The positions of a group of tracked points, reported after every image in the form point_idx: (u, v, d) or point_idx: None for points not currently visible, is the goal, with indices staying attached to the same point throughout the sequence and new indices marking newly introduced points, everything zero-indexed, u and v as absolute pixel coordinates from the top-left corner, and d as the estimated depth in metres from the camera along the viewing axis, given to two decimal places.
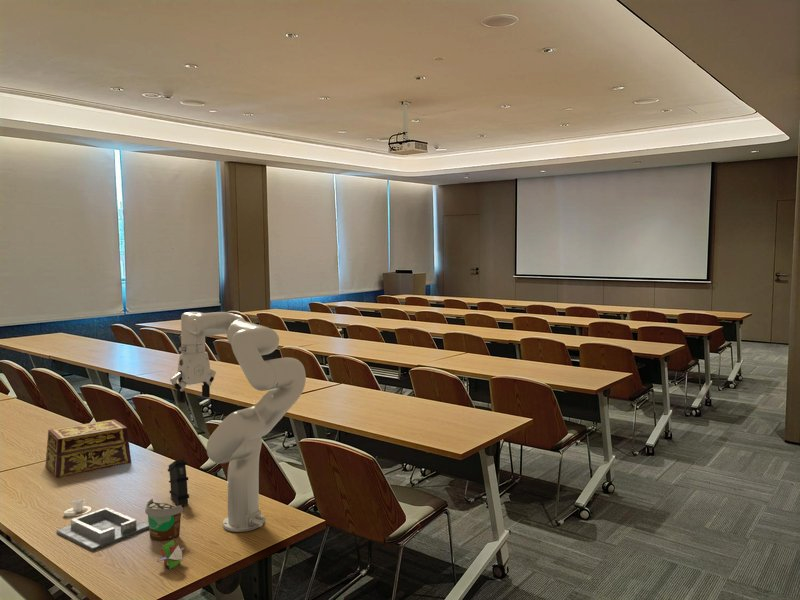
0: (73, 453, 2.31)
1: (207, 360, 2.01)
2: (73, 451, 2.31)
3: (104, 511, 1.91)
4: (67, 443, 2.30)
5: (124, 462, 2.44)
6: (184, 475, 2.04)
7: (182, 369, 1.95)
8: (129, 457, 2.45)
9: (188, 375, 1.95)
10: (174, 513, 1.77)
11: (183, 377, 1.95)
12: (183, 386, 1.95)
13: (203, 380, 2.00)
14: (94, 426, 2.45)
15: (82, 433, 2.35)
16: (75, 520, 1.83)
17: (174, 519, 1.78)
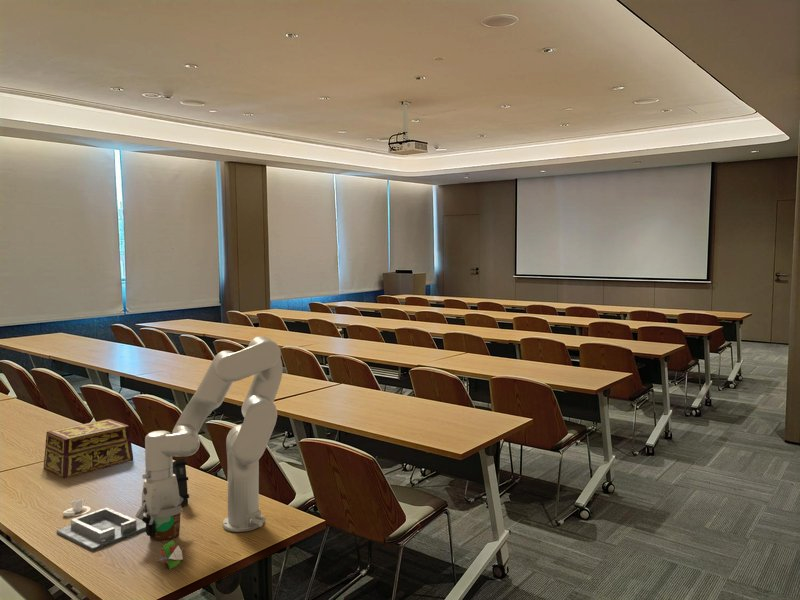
0: (79, 453, 2.31)
1: (175, 484, 1.80)
2: (79, 451, 2.31)
3: (104, 511, 1.91)
4: (74, 444, 2.30)
5: (127, 460, 2.46)
6: (184, 475, 2.04)
7: (146, 499, 1.74)
8: (131, 455, 2.48)
9: (153, 505, 1.74)
10: (174, 513, 1.77)
11: (147, 508, 1.74)
12: (151, 519, 1.75)
13: (171, 507, 1.79)
14: (94, 426, 2.45)
15: (86, 433, 2.36)
16: (75, 520, 1.83)
17: (173, 519, 1.78)
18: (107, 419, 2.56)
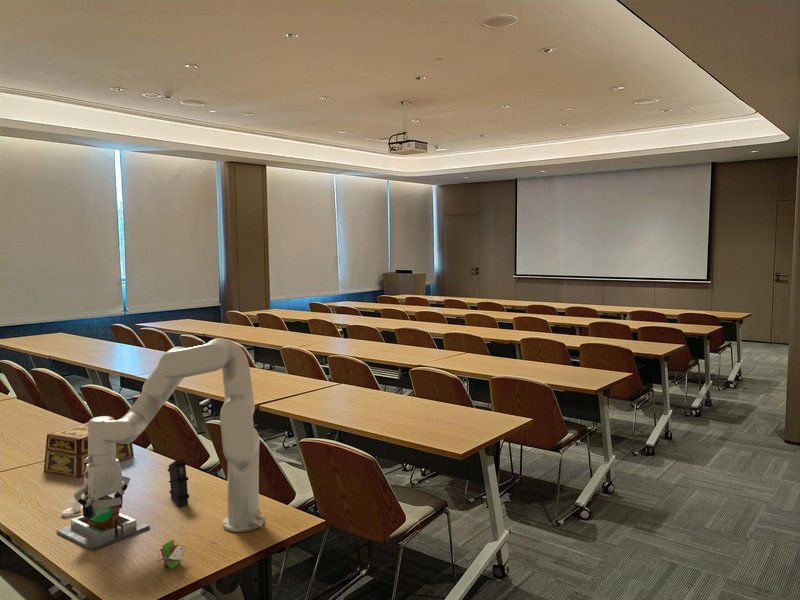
0: None
1: (118, 469, 1.84)
2: None
3: None
4: (86, 443, 2.31)
5: (129, 457, 2.50)
6: (184, 475, 2.04)
7: (88, 482, 1.78)
8: (132, 451, 2.52)
9: (94, 489, 1.78)
10: (112, 504, 1.80)
11: (89, 491, 1.78)
12: (89, 501, 1.78)
13: (113, 491, 1.83)
14: None
15: None
16: (75, 520, 1.83)
17: (112, 510, 1.81)
18: None
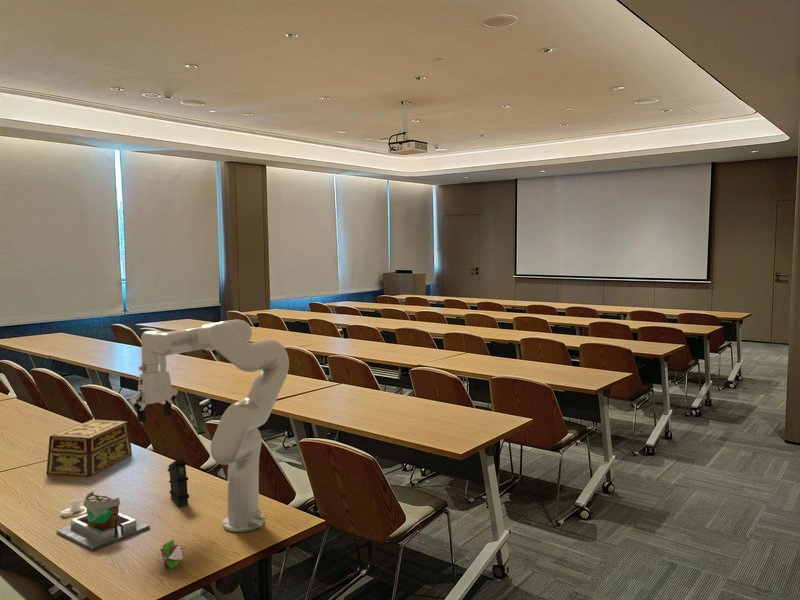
0: (98, 451, 2.34)
1: (168, 379, 2.01)
2: (98, 449, 2.34)
3: None
4: (95, 442, 2.32)
5: (128, 455, 2.53)
6: (184, 475, 2.04)
7: (142, 388, 1.95)
8: (130, 449, 2.55)
9: (148, 394, 1.95)
10: (111, 506, 1.79)
11: (143, 396, 1.94)
12: (143, 405, 1.95)
13: (164, 399, 1.99)
14: (92, 426, 2.46)
15: (99, 431, 2.38)
16: (75, 520, 1.83)
17: (111, 511, 1.80)
18: None
